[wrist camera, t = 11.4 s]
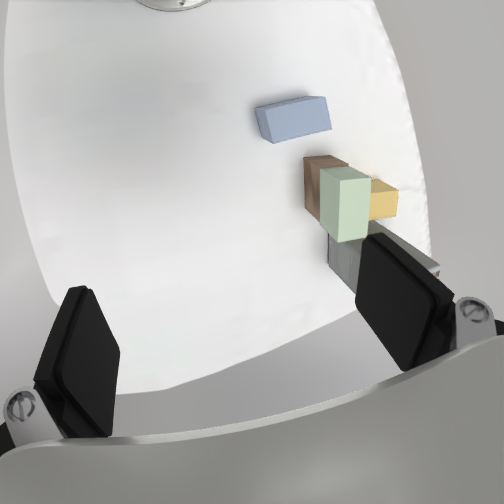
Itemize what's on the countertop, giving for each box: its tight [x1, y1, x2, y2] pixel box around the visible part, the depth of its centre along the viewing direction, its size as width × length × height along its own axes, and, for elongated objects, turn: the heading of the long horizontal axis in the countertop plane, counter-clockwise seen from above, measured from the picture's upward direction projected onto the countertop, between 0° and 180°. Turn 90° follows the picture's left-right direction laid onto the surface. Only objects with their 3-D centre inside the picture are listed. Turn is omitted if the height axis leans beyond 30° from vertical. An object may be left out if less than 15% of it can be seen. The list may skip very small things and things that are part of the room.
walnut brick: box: [304, 155, 348, 222], centre depth 37 cm, size 7×4×5 cm, turn 5°
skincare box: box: [329, 220, 441, 294], centre depth 38 cm, size 8×7×16 cm
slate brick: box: [254, 96, 332, 144], centre depth 32 cm, size 7×4×5 cm, turn 105°
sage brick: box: [320, 166, 371, 243], centre depth 33 cm, size 7×4×5 cm, turn 5°
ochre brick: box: [369, 180, 399, 221], centre depth 39 cm, size 7×4×5 cm, turn 95°
